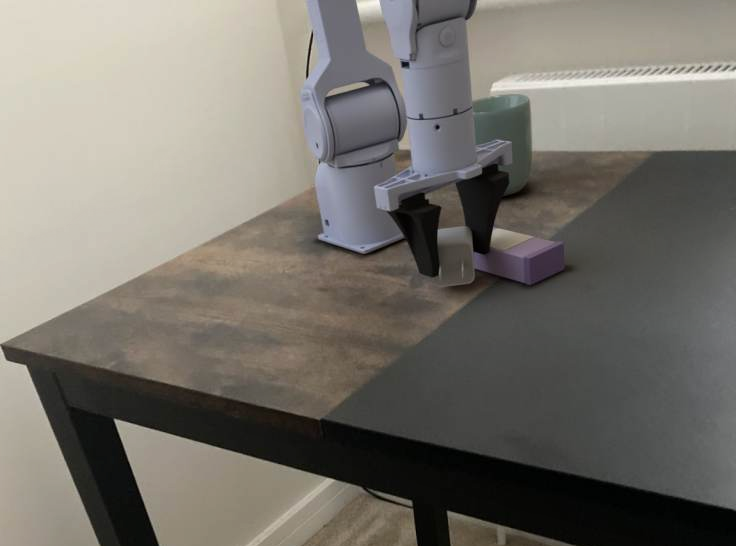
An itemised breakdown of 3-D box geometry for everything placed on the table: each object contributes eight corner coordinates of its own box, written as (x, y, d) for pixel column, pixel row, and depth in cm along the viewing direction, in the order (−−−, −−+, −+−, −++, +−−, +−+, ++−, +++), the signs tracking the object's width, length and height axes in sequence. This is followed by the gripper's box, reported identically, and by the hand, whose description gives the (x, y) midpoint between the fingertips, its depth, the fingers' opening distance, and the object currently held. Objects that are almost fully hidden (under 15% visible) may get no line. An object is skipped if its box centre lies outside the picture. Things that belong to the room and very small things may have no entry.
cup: (539, 196, 103) (535, 104, 98) (471, 207, 104) (464, 116, 98) (529, 177, 110) (525, 90, 104) (466, 188, 110) (458, 101, 105)
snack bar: (445, 260, 92) (442, 235, 90) (477, 246, 94) (475, 221, 92) (530, 285, 83) (529, 258, 81) (564, 269, 85) (564, 242, 83)
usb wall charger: (474, 265, 87) (471, 225, 85) (475, 294, 81) (472, 251, 79) (433, 270, 88) (429, 230, 85) (432, 299, 82) (427, 257, 80)
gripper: (402, 138, 71) (422, 299, 79) (533, 91, 77) (539, 245, 85) (351, 130, 76) (374, 282, 84) (478, 87, 82) (488, 232, 90)
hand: (454, 263), depth 85 cm, fingers closed on usb wall charger, 6 cm apart
